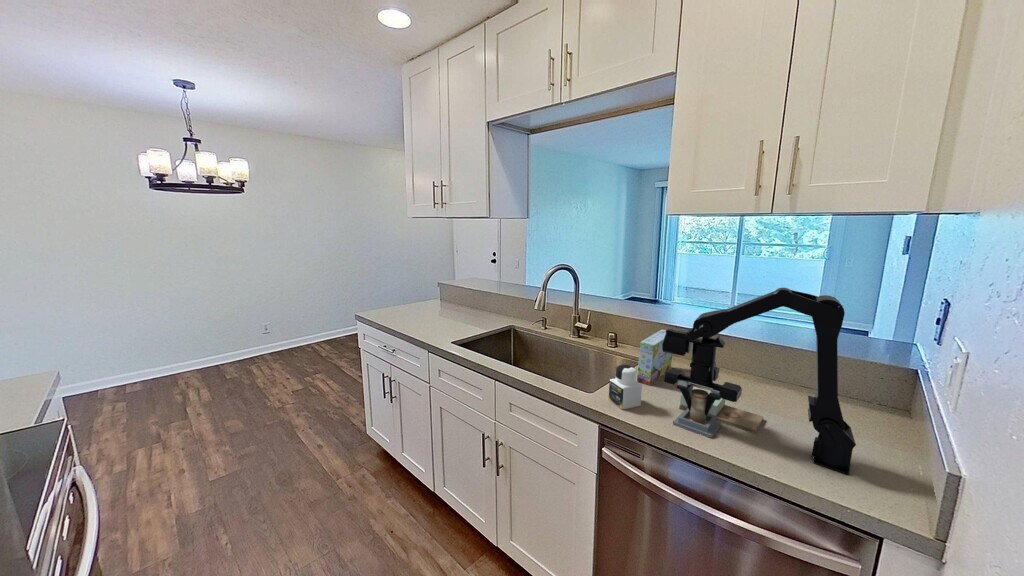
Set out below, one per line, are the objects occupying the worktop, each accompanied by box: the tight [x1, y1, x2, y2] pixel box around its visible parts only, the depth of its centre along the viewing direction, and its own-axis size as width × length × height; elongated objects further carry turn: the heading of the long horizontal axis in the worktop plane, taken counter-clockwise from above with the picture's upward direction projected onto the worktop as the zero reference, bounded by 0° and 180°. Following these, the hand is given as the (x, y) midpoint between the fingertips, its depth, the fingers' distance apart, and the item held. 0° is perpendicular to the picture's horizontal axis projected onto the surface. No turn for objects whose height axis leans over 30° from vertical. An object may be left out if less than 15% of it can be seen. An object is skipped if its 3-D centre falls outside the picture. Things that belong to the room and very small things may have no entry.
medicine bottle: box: [608, 364, 643, 411], centre depth 118 cm, size 7×7×12 cm
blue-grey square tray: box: [672, 409, 722, 439], centre depth 107 cm, size 10×9×2 cm
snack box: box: [636, 329, 673, 386], centre depth 140 cm, size 21×6×15 cm, turn 139°
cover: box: [679, 386, 726, 416], centre depth 115 cm, size 10×9×4 cm
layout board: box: [679, 404, 764, 435], centre depth 112 cm, size 20×10×1 cm, turn 47°
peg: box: [690, 388, 708, 423], centre depth 106 cm, size 4×4×8 cm
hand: (698, 412), depth 106 cm, fingers closed on peg, 4 cm apart
